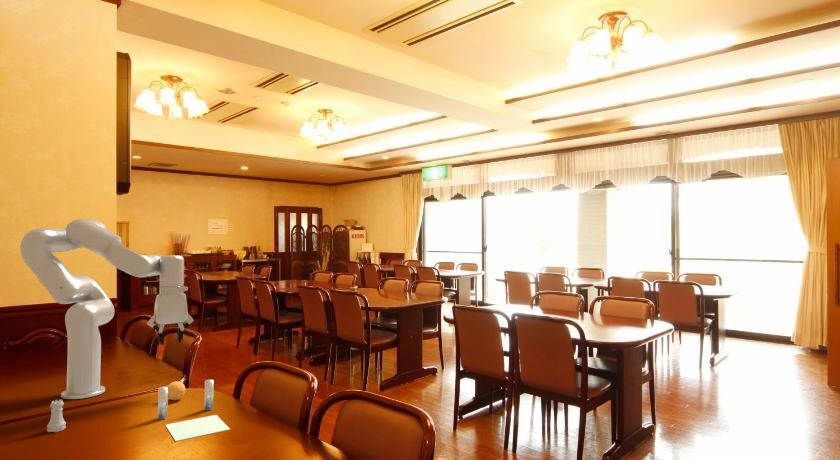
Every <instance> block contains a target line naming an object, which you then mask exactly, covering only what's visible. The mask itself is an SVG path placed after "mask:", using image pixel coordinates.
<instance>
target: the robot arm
mask: <svg viewBox="0 0 840 460" xmlns="http://www.w3.org/2000/svg"><path fill="white" fill-rule="evenodd" d="M122 240H123V239H122V237H121V236H119V235H118V234H116V233H114V232H112V231H110V230H108V229H107V227H106V225H105V224H104V223H103V222H101V221H100V220H96V219H85V218H78V219H74V220H71V221H70V222H69V223H68V224H67V225H66V227H63V228H60V227H59V228H57V227H40V228H34V229H31V230H29V231H27V232H26V233H25V234H24V236H23V237H22V239H21V241H20V244H19V246H20V247H19V250H20V256H21V259H22V261H23V262H24V263H25V265H26V266H27V267H28V268H29V270H30V271H31V272H32V273H33V274H34V275H35V276H36V278H37V279H38V280H39V282H40V283H41V284H42V286H43V287H44V289H45V290H46V291H47V292H48V294H49V295H50V297H52V299H53V301H55V302H56V303H58V304H60V305H66V304H67V305H68V304H69V305H70V304H73V303H75V304H74V305H71V306H70V307H69V308H68V309H67V311H66V313H65V315H64V317H65V318H64V323H65V329H66V334H67V335H66V336H67V362H66V363H67V365H66V369H67V370H66V390H65V389H64V391H61V393H60V397H61V399H63V400H64V399H65V400H79V399H86V398H87V399H88V398H92V397H95V396H99V395H102V394H103V393H105V392H106V387H105V386H104V385H101V366H102V365H101V360H102V359H101V358H102V357H101V355H102V338H101V333H100V330H99V327H100V326H102V325H105V324H107V323H109V322H110V321H111V320H112V319H113V318H114V316H115V307H114V305H113V304H114V303H112V300H111V299H110V298H109V297H108V296H107V295H106V293H105V292H104V291H103V289H102V288H101V287H100V285H99V284H98V282H96V281H95V280H94V278H92V277H90V276H88V275H85V274H73V273H71V271H70V270H69V269H68V268H67V266H66V265H65V264H64V263H63V261H61V260H60V259H59V257H56V256H55V255H54V254H53V253H63V252H69V251H73V250H77V249H81V248H85V249H87V250H89V251H91V252H93V253H95V254H97V255H99V256H101V257H102V258H105V260H106V261H107V262H108V263H109V264H110V265H112V266H113V267H115V268H116V269H118V270H119V271H122V272H124V273H126V274H129V275H130V276H133V277H137V278H147V277H154V276H159V294H156V297H155V302H154V311H153V315H152V317H151V318H150V319H149V320H148V321H147V323H146V324H147V326H148V327H150V328H152V329H154V330H155V331H156V332H157V337H158V338H157V342H158V343H159V344H160V345H161V346H163V345H165V333H164V327H165V325H172V324H177V326H178V327H177V328H178V329H177V332H176V333H177V334H176V338H177V339H176V342H177V343H180V344H181V343H182V341H183V340H184V331H185V330H186V328H188V326H189V325H191V324H192V323H193V322H194V321H195V320H194V319H193V317H192V316H191V315H190V313H189V312H188V302H187V296H186V293H185V291H189V286H185V285H184V283H185V281H184V278H185V277H184V275H185V274H184V273H185V259H184V257H183V256H181V255H175V254H174V255H170V254H169V255H168V254H167V255H160V254H141V253H139V252H137V251H134V250H132V249H130V248H129V247H126V246H125V245H124V244H123V243H122ZM154 323H155V324H154ZM156 324H157V325H156Z"/></svg>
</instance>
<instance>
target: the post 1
mask: <svg viewBox="0 0 840 460" xmlns="http://www.w3.org/2000/svg"><path fill="white" fill-rule="evenodd" d="M168 403H169V399H168V387H167V386H160V387H158V388H157V420H167V418H168V410H169V409H168Z"/></svg>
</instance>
